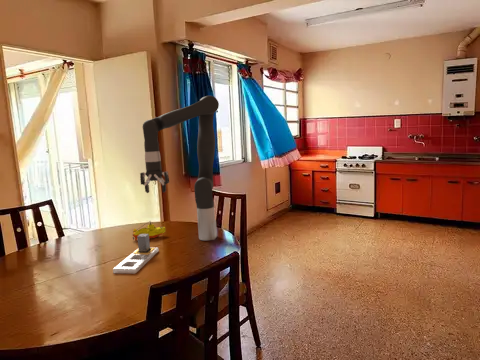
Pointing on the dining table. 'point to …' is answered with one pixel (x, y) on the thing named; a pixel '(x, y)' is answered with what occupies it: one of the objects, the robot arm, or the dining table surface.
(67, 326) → the dining table surface
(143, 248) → the peg
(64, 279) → the dining table surface
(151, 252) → the rail
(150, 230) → the toy boat
